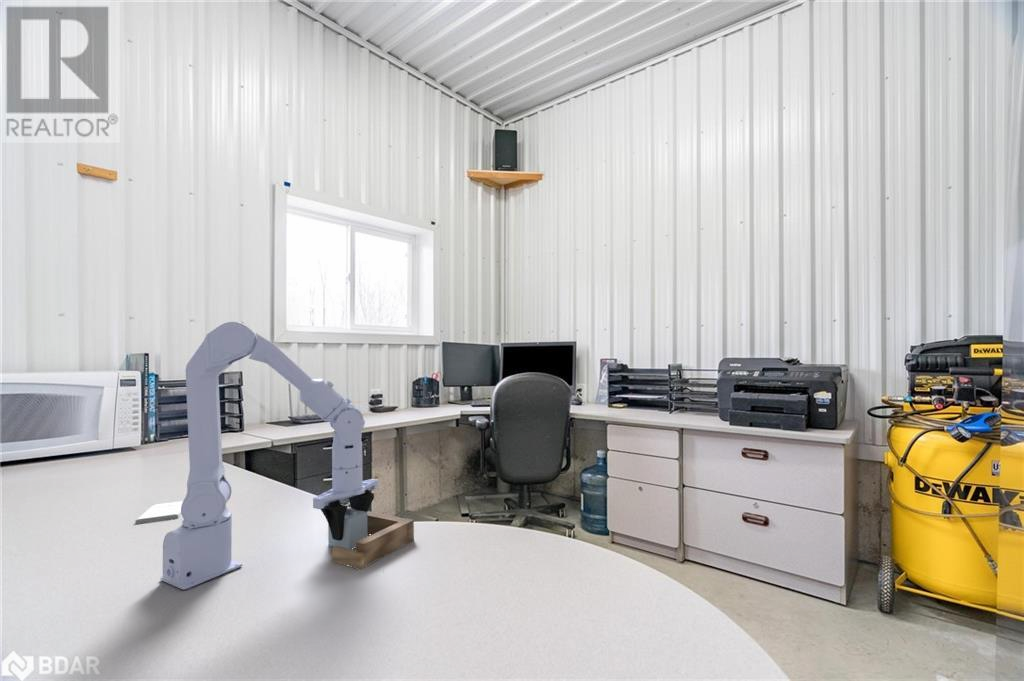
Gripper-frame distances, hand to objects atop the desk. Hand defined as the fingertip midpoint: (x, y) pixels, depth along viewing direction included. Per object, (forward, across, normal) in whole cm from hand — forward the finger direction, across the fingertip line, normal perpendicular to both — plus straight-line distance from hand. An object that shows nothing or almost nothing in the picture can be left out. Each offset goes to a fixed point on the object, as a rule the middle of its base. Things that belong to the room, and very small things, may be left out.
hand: (347, 534), depth 89 cm
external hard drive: (+3, -7, +58) cm, 58 cm away
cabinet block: (+2, 0, 0) cm, 2 cm away
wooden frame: (+2, 0, -1) cm, 2 cm away
